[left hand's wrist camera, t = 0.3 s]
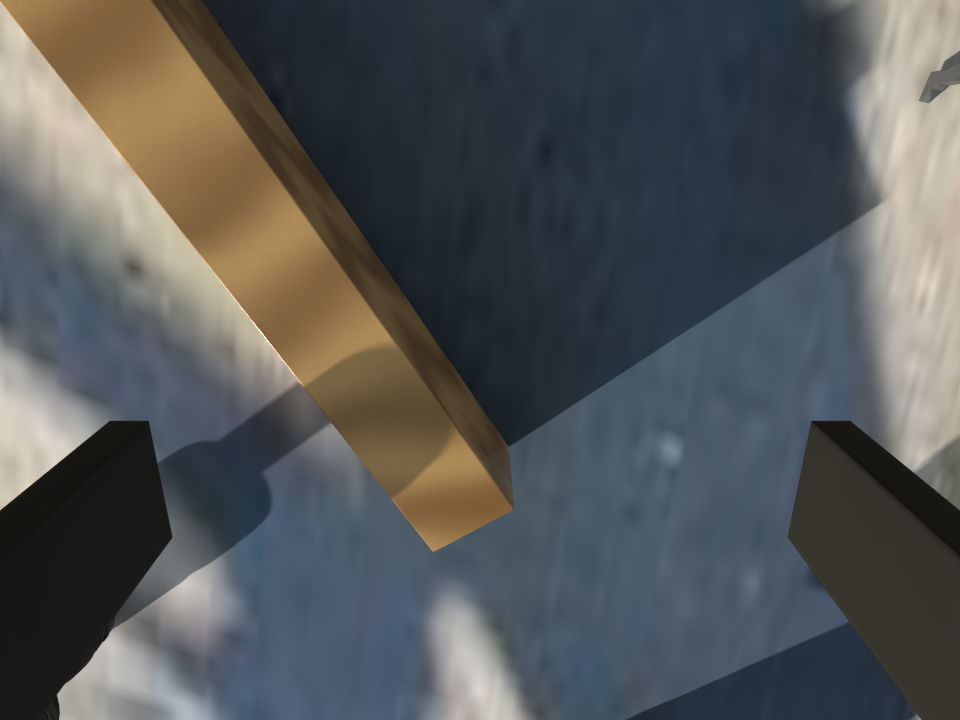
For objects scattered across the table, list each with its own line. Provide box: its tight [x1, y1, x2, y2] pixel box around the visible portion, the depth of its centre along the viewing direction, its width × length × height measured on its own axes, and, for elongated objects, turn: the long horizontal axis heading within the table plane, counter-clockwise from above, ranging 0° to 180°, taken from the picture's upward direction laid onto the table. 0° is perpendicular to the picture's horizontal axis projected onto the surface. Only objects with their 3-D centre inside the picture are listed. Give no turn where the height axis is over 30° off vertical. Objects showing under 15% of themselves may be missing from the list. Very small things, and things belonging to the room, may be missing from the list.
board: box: [0, 0, 514, 552], centre depth 31 cm, size 60×6×7 cm, turn 32°
